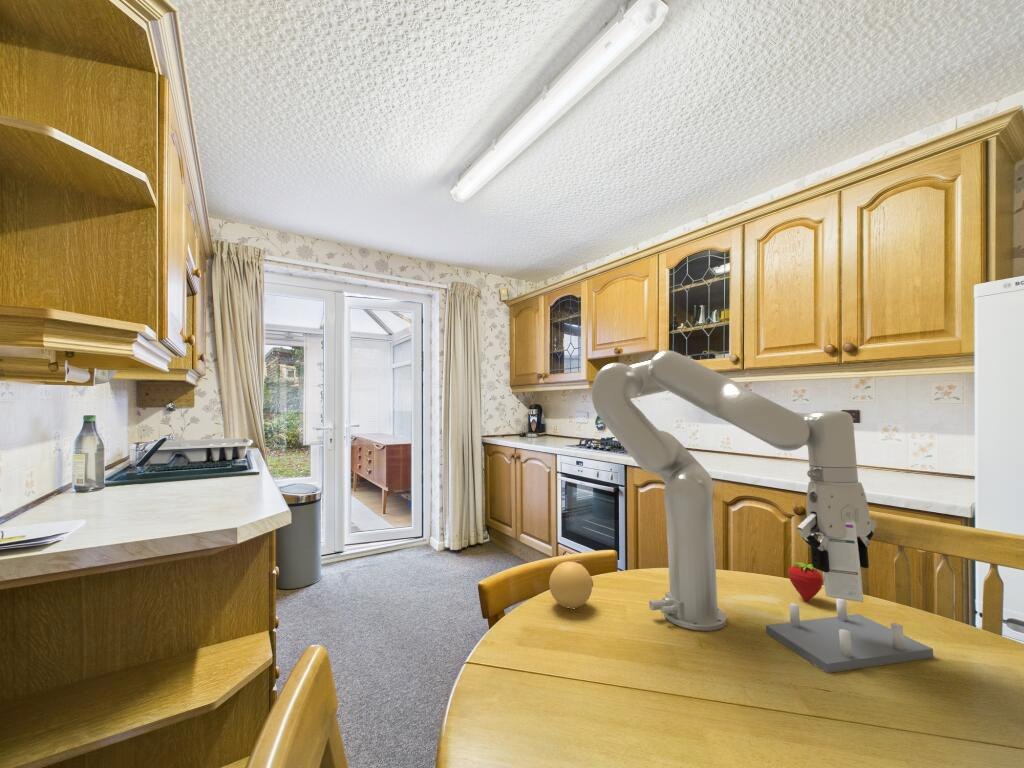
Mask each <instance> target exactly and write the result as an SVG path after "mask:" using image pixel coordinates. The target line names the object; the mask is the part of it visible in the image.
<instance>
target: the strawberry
mask: <svg viewBox="0 0 1024 768" xmlns="http://www.w3.org/2000/svg"><path fill="white" fill-rule="evenodd" d="M808 558H809V557H808V556H806V560H805V563H804V562H799V561H798V562H797V561H793V563H794V564H793V565H792V566H790V567H789V568H788V573H787V575H788V577H789V580H790V582H791V584H792V586H793V587H794V588H795V590H796V592H797V594H799V595H800V596H801V598H802V600H804V601H806V602H808V601H811V600H812V599H813V598H814V597H815V596H817V594H818V593H819V591H821V590H822V587H823V584H824V578H823V575H822V574H821V573H820V572H819V570H818V569H815V568H813V566H812V563H811V564H810V563H809V564H807V561H808Z"/></svg>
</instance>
